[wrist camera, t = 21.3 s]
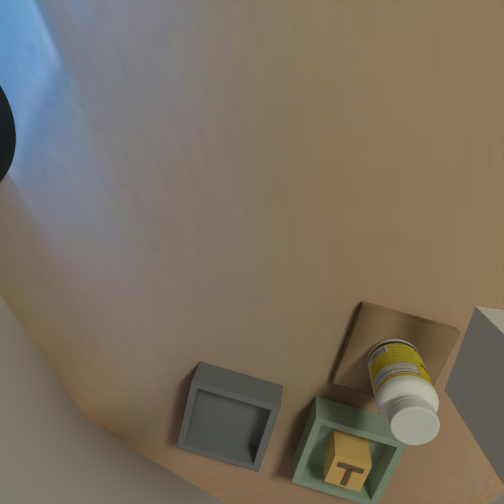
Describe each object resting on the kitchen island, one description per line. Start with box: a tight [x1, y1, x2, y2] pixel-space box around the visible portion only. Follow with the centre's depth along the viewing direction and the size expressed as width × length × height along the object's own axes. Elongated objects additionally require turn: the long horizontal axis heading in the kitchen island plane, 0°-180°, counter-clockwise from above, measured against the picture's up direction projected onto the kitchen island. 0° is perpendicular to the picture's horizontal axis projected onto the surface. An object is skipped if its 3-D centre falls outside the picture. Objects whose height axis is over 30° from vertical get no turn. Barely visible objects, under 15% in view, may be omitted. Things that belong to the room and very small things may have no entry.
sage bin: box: [291, 396, 407, 504], centre depth 48 cm, size 10×10×4 cm
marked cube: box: [324, 429, 372, 492], centre depth 47 cm, size 4×4×4 cm
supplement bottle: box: [368, 339, 440, 445], centre depth 39 cm, size 5×5×10 cm
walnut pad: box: [332, 301, 460, 395], centre depth 44 cm, size 10×10×1 cm
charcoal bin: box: [177, 362, 283, 472], centre depth 48 cm, size 10×10×4 cm
